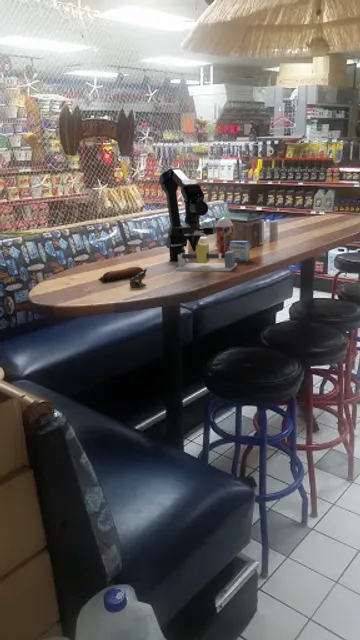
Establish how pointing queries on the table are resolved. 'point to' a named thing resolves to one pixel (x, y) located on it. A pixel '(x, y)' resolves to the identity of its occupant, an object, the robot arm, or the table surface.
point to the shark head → (138, 279)
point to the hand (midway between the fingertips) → (194, 251)
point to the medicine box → (241, 250)
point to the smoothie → (224, 234)
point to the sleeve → (202, 253)
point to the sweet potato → (120, 274)
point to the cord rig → (226, 266)
